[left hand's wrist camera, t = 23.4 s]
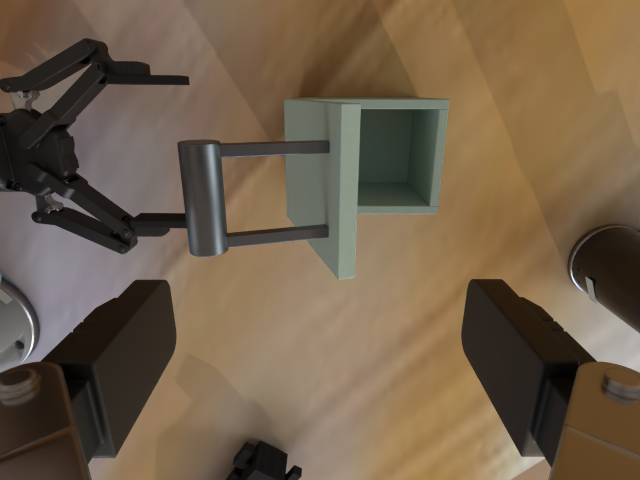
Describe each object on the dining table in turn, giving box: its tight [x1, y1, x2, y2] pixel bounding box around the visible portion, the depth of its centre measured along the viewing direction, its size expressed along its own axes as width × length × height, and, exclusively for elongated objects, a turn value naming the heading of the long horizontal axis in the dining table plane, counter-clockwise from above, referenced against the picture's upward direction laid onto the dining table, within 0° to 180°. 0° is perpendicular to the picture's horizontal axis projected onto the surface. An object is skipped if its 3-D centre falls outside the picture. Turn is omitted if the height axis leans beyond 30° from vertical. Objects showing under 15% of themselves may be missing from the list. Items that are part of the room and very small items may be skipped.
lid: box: [177, 99, 361, 279], centre depth 28 cm, size 14×10×9 cm
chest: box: [293, 97, 449, 214], centre depth 41 cm, size 13×10×11 cm
